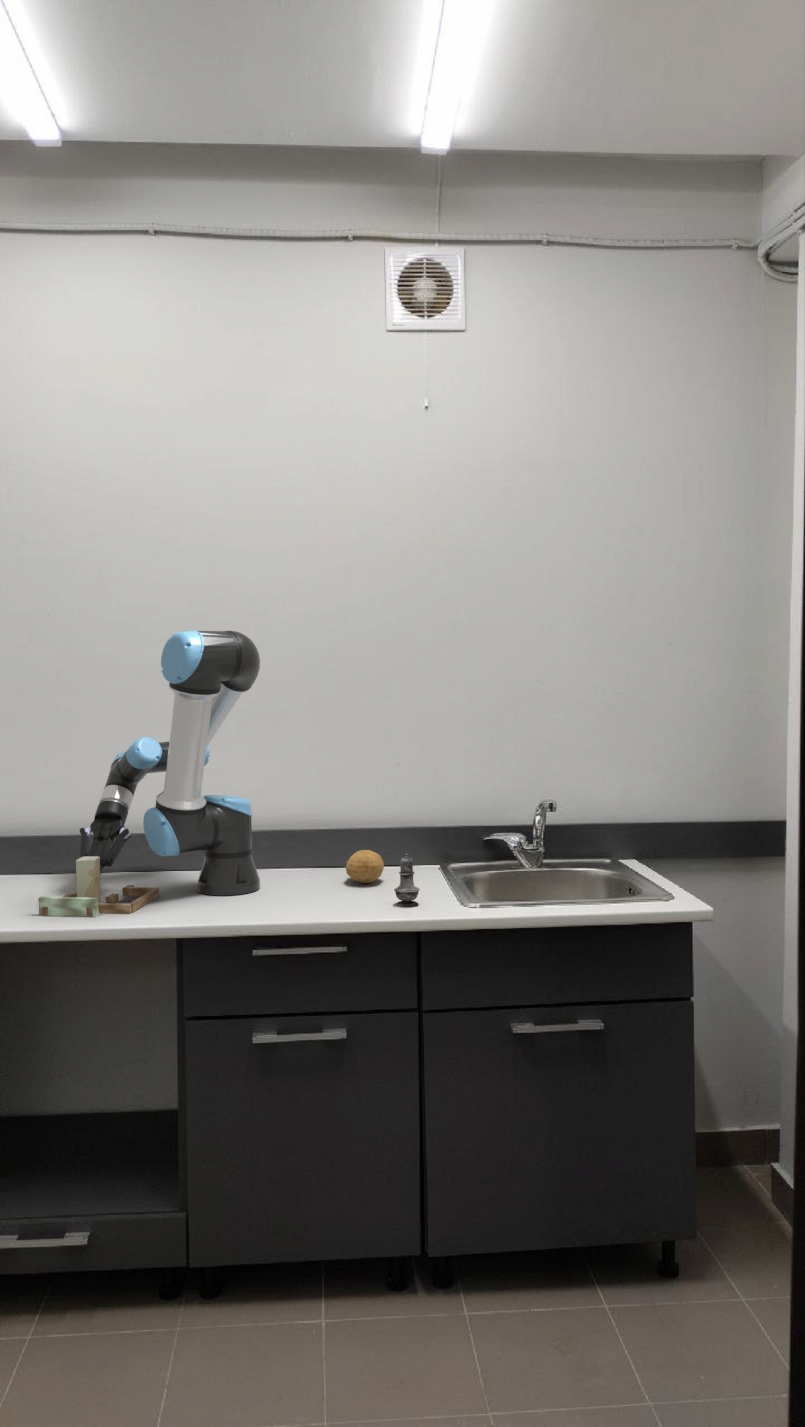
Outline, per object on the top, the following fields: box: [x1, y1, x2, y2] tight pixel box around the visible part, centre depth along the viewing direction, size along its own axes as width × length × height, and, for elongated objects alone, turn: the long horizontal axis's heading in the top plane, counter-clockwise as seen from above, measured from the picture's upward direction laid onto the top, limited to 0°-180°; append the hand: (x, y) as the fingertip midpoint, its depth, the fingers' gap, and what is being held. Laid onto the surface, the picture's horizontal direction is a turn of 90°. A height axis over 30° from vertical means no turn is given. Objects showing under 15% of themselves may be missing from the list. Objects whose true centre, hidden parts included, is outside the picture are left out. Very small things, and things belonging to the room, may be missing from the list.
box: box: [75, 856, 102, 903], centre depth 257 cm, size 5×4×11 cm
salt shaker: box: [393, 852, 421, 908], centre depth 254 cm, size 6×6×12 cm
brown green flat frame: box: [37, 884, 160, 918], centre depth 258 cm, size 20×24×4 cm
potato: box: [345, 849, 385, 884], centre depth 278 cm, size 10×14×8 cm
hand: (86, 889), depth 261 cm, fingers closed
